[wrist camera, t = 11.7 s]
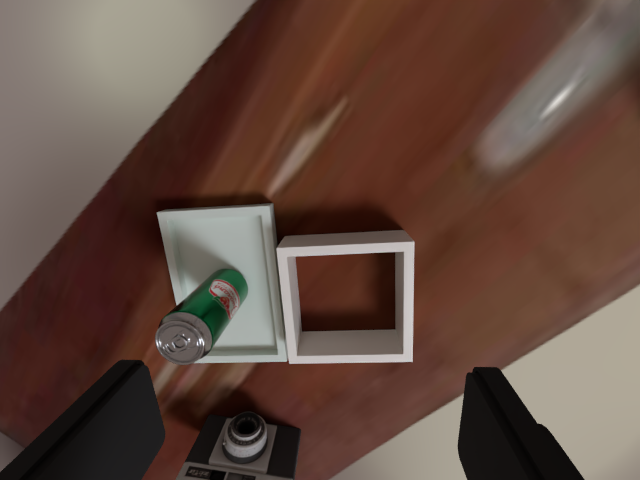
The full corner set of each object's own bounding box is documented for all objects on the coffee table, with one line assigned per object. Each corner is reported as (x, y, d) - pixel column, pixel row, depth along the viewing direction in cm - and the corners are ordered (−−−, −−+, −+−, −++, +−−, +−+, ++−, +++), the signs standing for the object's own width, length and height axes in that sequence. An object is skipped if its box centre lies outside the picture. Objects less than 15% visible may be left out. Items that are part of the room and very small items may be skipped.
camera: (305, 407, 42) (295, 481, 33) (298, 451, 44) (287, 532, 35) (208, 392, 43) (170, 460, 33) (207, 436, 45) (171, 512, 35)
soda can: (257, 293, 37) (219, 354, 25) (224, 310, 38) (174, 377, 26) (234, 259, 36) (184, 307, 24) (201, 278, 37) (138, 333, 25)
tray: (166, 209, 36) (156, 212, 34) (273, 203, 35) (269, 205, 33) (195, 353, 41) (188, 363, 39) (289, 351, 40) (286, 361, 38)
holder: (284, 235, 36) (276, 248, 31) (403, 230, 34) (414, 241, 30) (295, 338, 39) (289, 363, 34) (403, 336, 38) (412, 361, 33)
